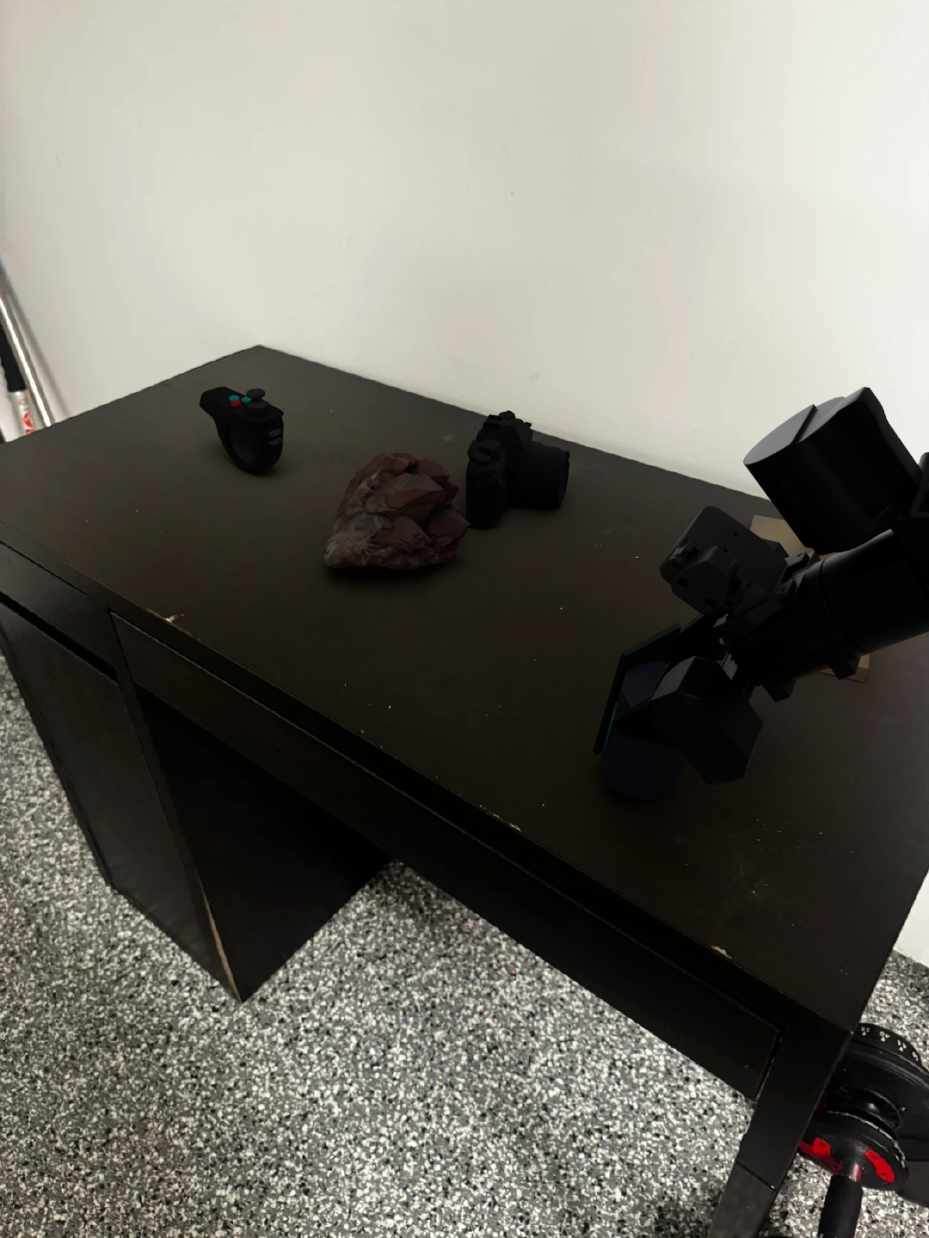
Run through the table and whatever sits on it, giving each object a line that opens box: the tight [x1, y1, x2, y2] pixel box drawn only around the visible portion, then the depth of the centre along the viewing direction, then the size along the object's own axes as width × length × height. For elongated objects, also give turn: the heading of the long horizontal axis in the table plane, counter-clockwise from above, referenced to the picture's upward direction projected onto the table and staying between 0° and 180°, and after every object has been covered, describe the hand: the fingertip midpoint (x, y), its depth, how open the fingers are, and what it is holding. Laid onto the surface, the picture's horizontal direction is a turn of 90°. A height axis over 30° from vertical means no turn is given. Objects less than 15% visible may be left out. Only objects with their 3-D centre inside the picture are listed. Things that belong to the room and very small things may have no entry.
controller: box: [198, 386, 285, 473], centre depth 101 cm, size 4×12×10 cm, turn 47°
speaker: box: [592, 622, 688, 802], centre depth 60 cm, size 8×6×10 cm
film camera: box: [464, 409, 571, 530], centre depth 95 cm, size 15×10×9 cm, turn 163°
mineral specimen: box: [322, 452, 471, 572], centre depth 85 cm, size 12×13×15 cm
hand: (638, 692), depth 60 cm, fingers closed on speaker, 7 cm apart
